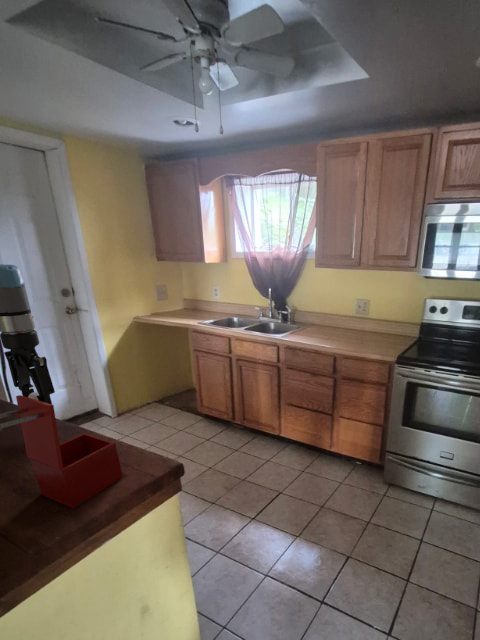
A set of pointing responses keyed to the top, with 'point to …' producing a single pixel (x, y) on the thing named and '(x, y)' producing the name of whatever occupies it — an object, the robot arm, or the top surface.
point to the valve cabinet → (79, 470)
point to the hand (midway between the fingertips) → (41, 414)
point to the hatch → (37, 430)
